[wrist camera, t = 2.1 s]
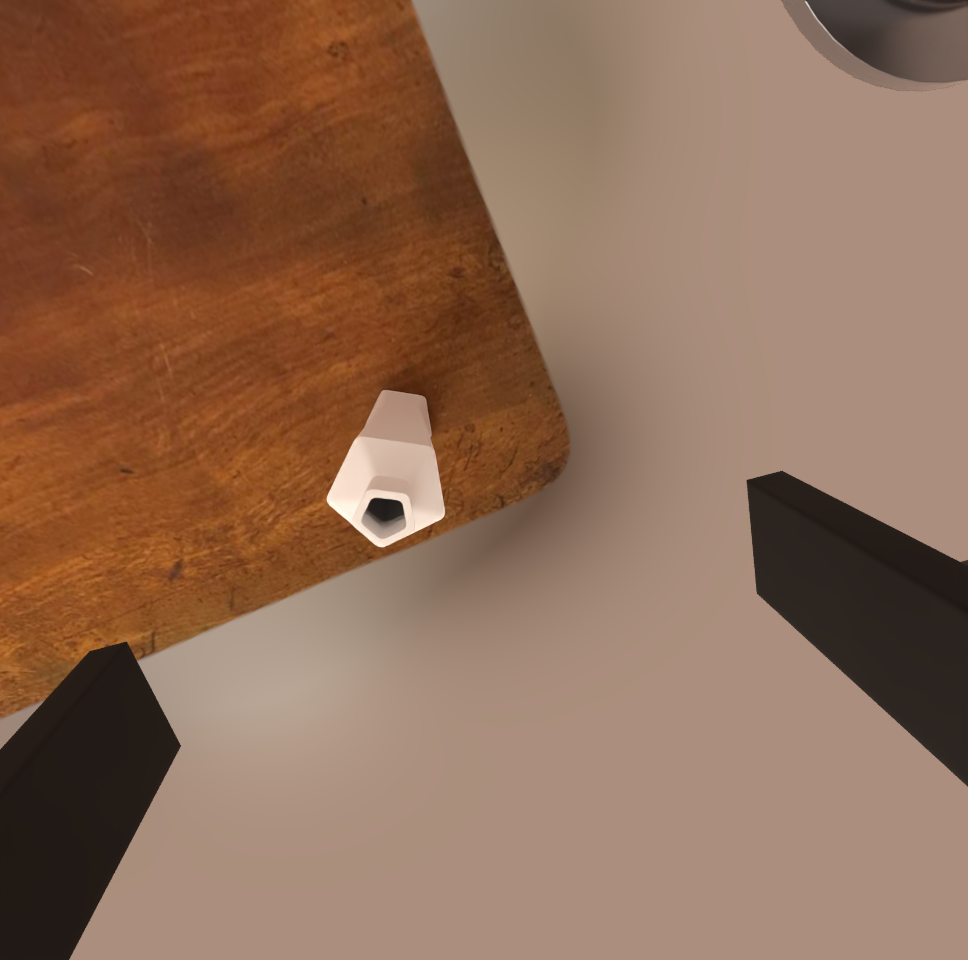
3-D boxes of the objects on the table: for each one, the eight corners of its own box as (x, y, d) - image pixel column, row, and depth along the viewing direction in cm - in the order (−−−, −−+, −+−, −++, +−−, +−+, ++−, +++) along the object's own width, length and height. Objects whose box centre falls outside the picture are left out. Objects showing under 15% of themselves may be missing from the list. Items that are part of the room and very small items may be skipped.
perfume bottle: (456, 420, 35) (480, 514, 20) (404, 470, 35) (392, 596, 21) (399, 363, 33) (383, 422, 19) (346, 417, 34) (292, 513, 20)
